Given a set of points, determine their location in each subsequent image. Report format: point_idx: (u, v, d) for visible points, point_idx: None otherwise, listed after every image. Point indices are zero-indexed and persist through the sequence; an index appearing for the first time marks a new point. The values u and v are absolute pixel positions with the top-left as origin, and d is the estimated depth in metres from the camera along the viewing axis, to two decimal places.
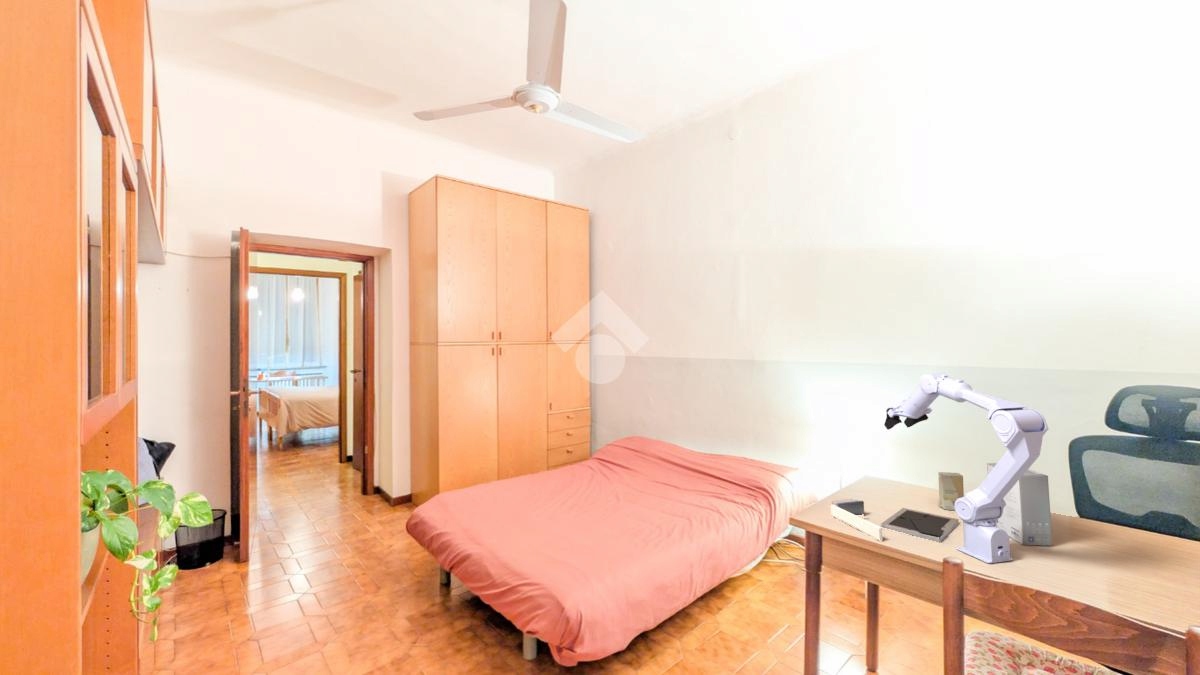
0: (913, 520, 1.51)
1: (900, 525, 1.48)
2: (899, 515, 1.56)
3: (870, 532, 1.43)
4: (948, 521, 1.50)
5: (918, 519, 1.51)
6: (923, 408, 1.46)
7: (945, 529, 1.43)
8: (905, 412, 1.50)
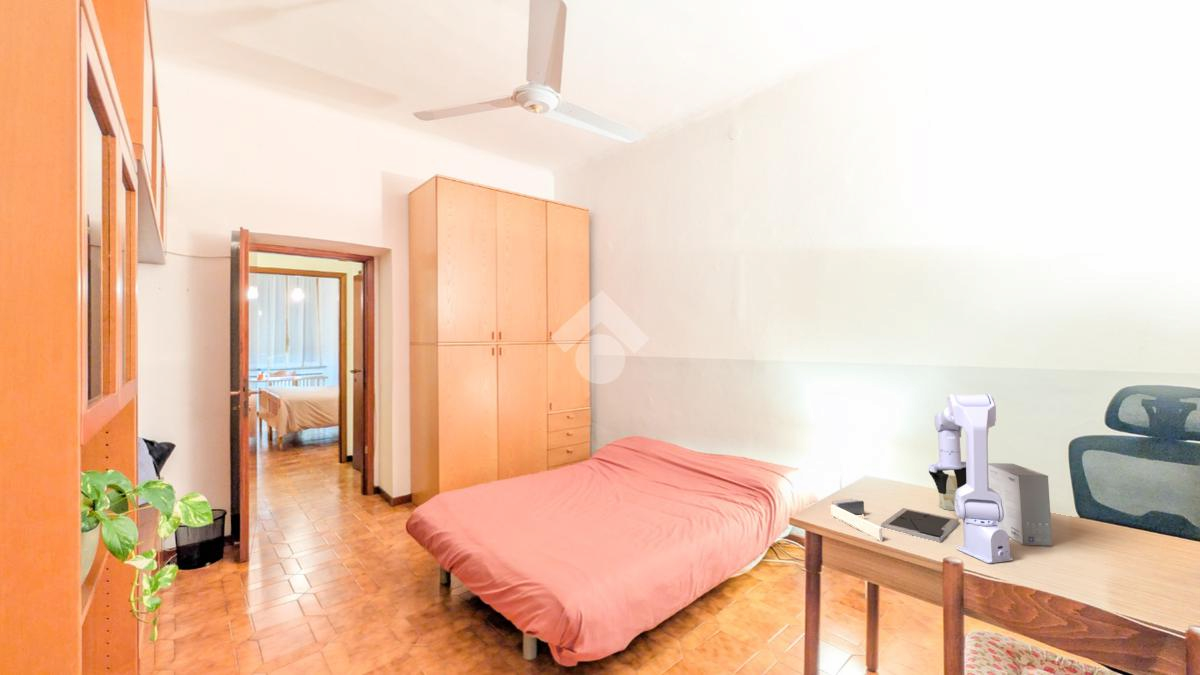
0: (913, 520, 1.51)
1: (900, 525, 1.48)
2: (899, 515, 1.56)
3: (870, 532, 1.43)
4: (948, 521, 1.50)
5: (918, 519, 1.51)
6: (956, 452, 1.50)
7: (945, 529, 1.43)
8: (945, 465, 1.52)
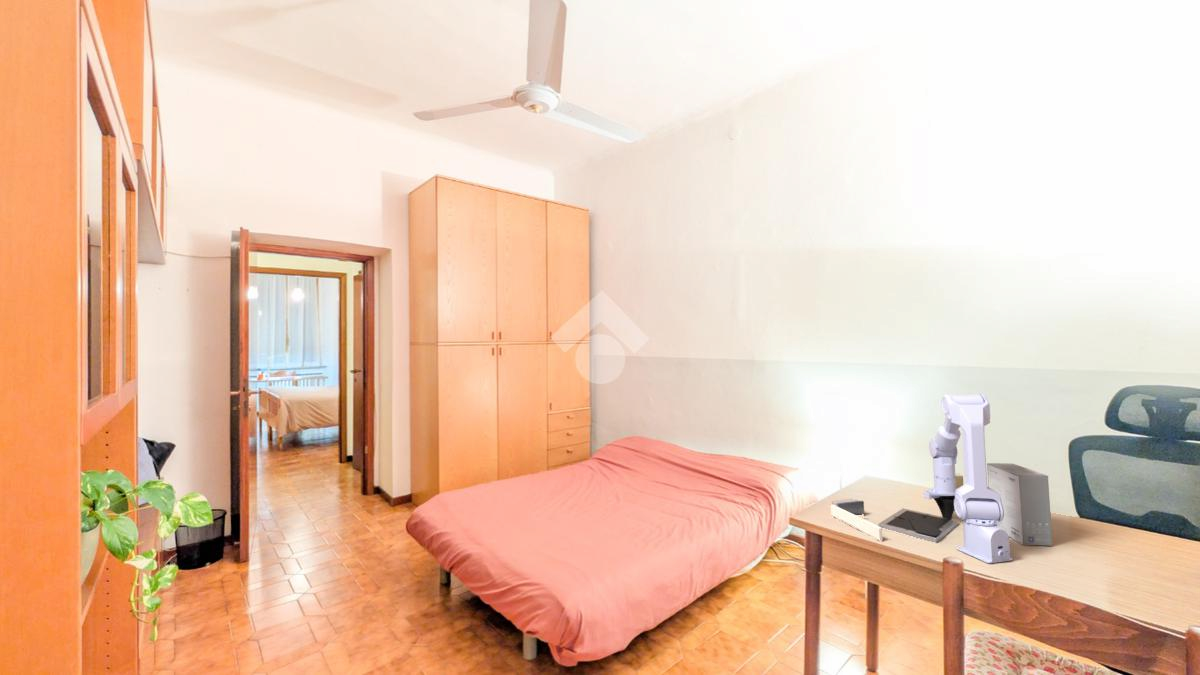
0: (911, 520, 1.50)
1: (898, 525, 1.48)
2: (898, 515, 1.56)
3: (870, 532, 1.43)
4: (947, 521, 1.49)
5: (917, 519, 1.51)
6: (951, 479, 1.50)
7: (943, 529, 1.43)
8: (940, 492, 1.51)
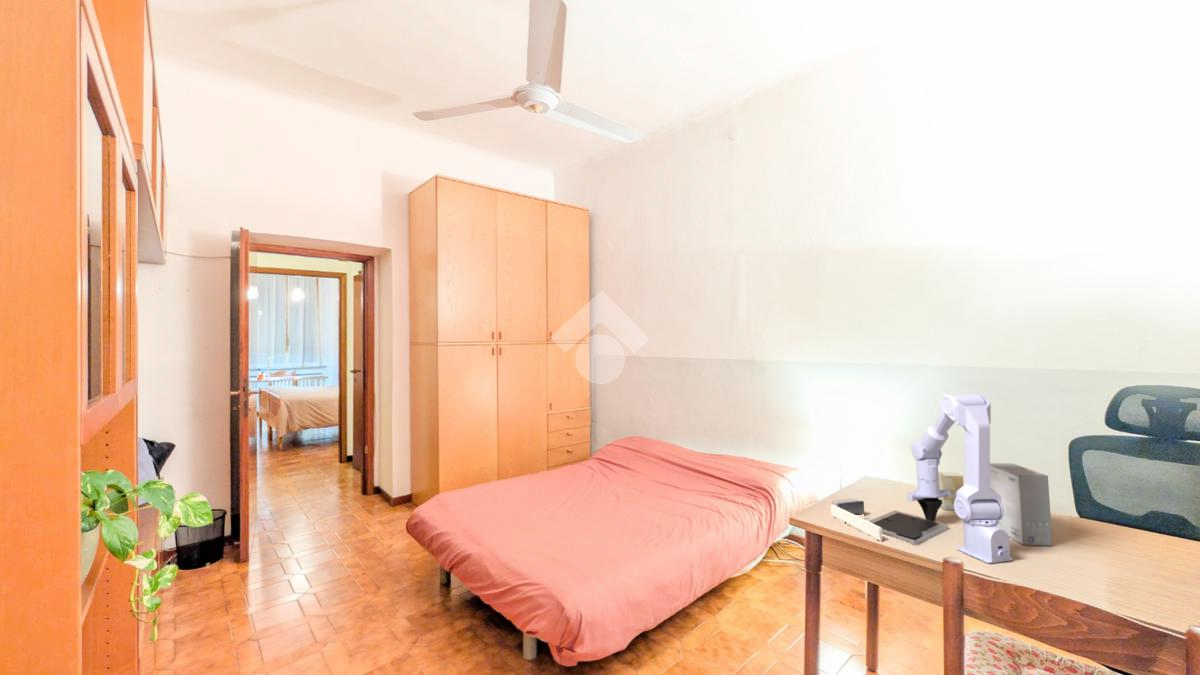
0: (897, 522, 1.49)
1: (880, 526, 1.47)
2: (886, 517, 1.55)
3: (870, 532, 1.43)
4: (935, 525, 1.46)
5: (903, 522, 1.49)
6: (934, 481, 1.49)
7: (926, 533, 1.41)
8: (923, 494, 1.50)
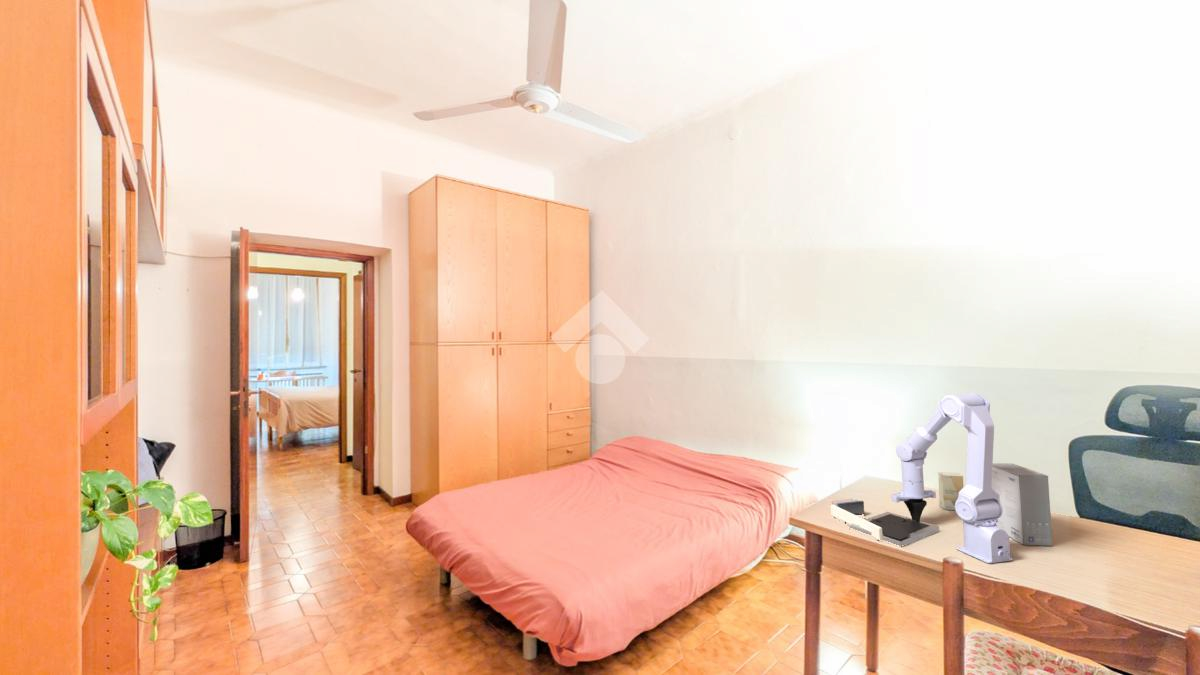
0: (886, 523, 1.48)
1: None
2: (876, 518, 1.54)
3: None
4: (925, 527, 1.45)
5: (893, 523, 1.48)
6: (918, 482, 1.48)
7: (914, 534, 1.40)
8: (908, 495, 1.49)
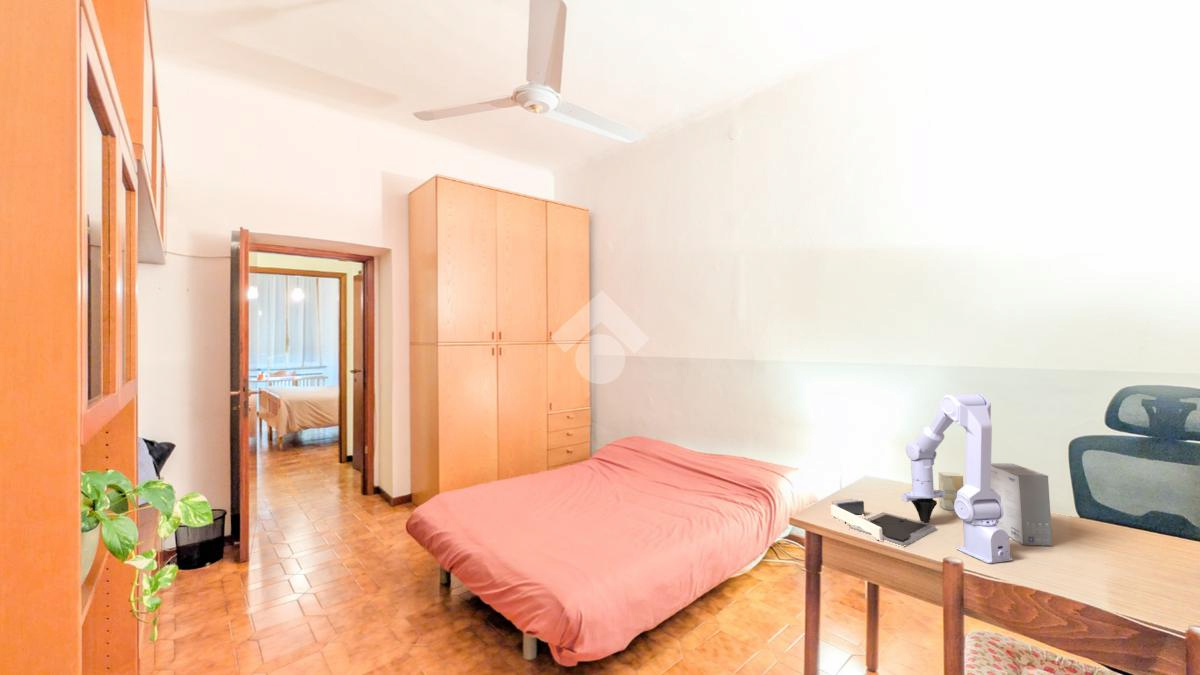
0: (885, 524, 1.48)
1: None
2: (874, 519, 1.54)
3: (870, 532, 1.43)
4: (923, 527, 1.46)
5: (891, 523, 1.49)
6: (928, 481, 1.48)
7: (914, 534, 1.40)
8: (917, 494, 1.50)
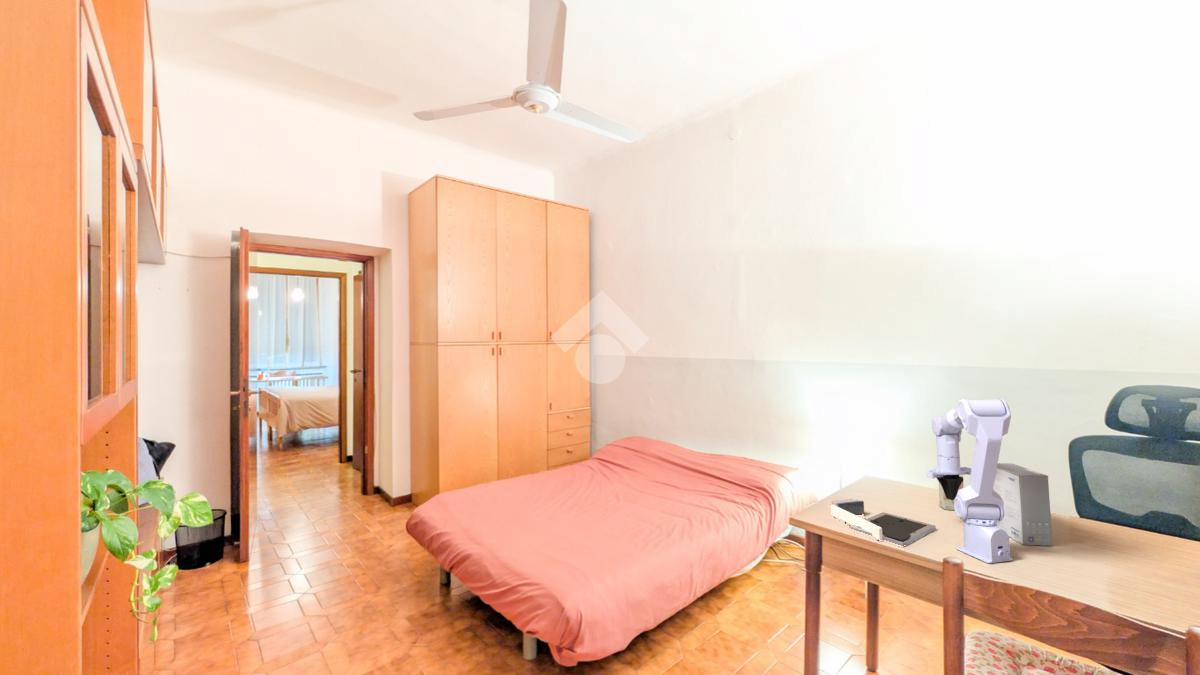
0: (885, 524, 1.48)
1: None
2: (874, 519, 1.54)
3: None
4: (923, 527, 1.46)
5: (891, 523, 1.49)
6: (955, 457, 1.44)
7: (914, 534, 1.40)
8: (943, 471, 1.46)
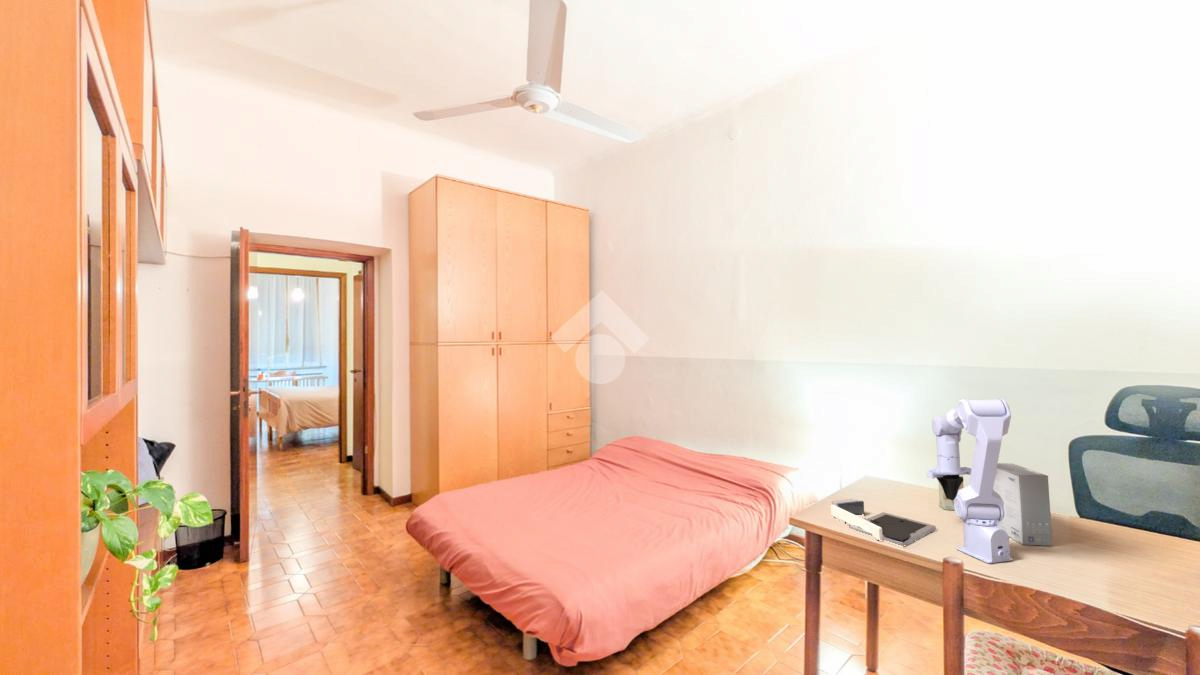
0: (885, 524, 1.48)
1: None
2: (874, 519, 1.54)
3: (870, 532, 1.43)
4: (923, 527, 1.46)
5: (891, 523, 1.48)
6: (955, 457, 1.44)
7: (914, 534, 1.40)
8: (943, 471, 1.46)
